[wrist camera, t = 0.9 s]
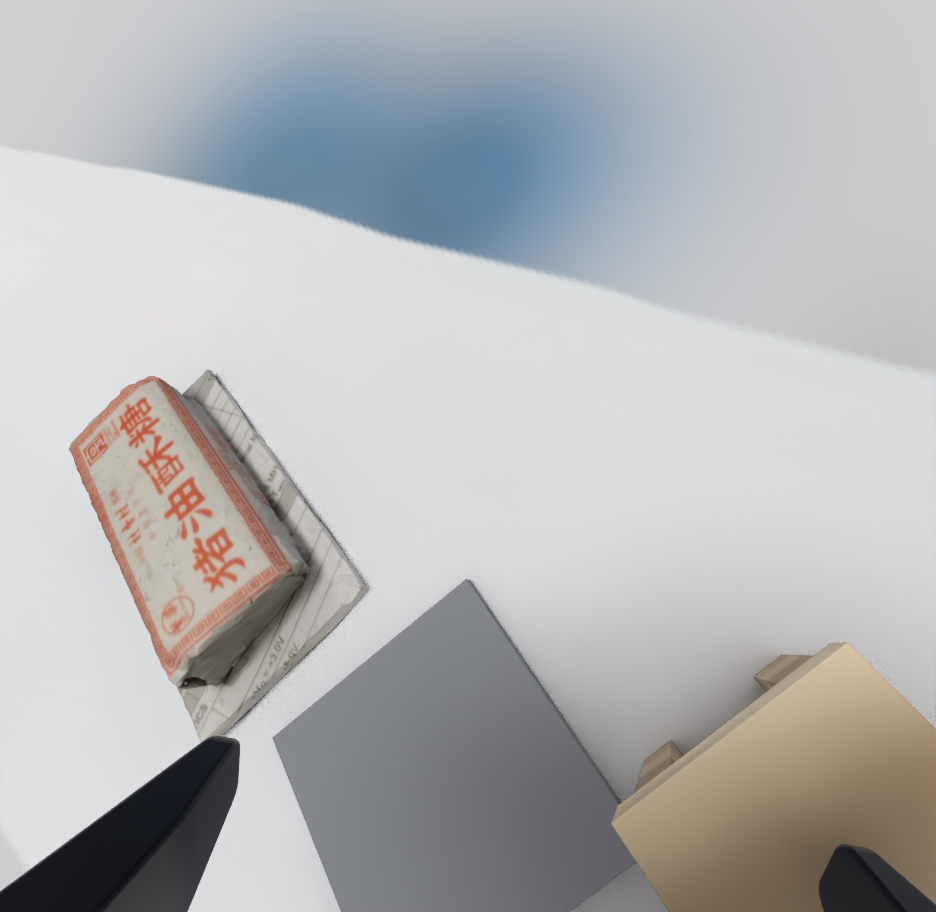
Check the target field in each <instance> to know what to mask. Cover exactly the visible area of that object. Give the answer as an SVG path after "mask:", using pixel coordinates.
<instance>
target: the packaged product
mask: <svg viewBox="0 0 936 912" xmlns="http://www.w3.org/2000/svg"><path fill="white" fill-rule="evenodd" d="M69 451H70V452H71V453H72V455H73V458H74V461H75V464H76V466H77V470H78V472H79V473H80V476H81V478H82V483H83V485H84V486H85V488H86V490H87V492H88V493H89V496H90V499H91V502H92V503H91V504H92V506H93V508H94V509H95V511H96V513H97V515H98V519H99V521H100V522H101V524H102V528H103V530H104V532H105V535H106V537H107V539H108V541H109V542H110V543H111V548H112V552H113V554H114V556H115V559H116V560H117V562H118V564H119V566H120V569H121V572H122V574H123V576H124V579H125V581H126V583H127V585H128V587H129V589H130V591H131V594H132V596H133V598H134V602H135V604H136V606H137V608H138V610H139V613H140V615H141V617H142V619H143V622H144V624H145V626H146V628H147V629H148V631H149V633H150V634H151V639H152V643H153V646H154V649H155V652H156V654H157V656H158V658H159V660H160V663H161V666H162V668H163V669H164V670H165V671H166V673H167V676H168V679H169V680H170V681H171V682H172V683H174V684H175V685H176V686H177V688H178V690H179V692H180V694H181V696H182V698H183V701H184V704H185V707H186V709H187V710H188V712H189V713H190V716H191V718H192V721H193V723H194V725H195V728H196V732H197V734H198V737H199V739H200V741H202V742H203V741H204V740H205V739H207V738H209V737H211V736H220V735H222V734H224V733H225V732H226V731H228V730H229V729H230V728H231V727H232V726H233V725H234V724H235V723H236V722H237V721H238V720H239V719H240V718H241V717H242V716H243V715H244V714H245V713H246V712H247V711H248V710H250V709H251V708H252V707H253V706H254V705H255V704H256V703H257V702H258V701H259V700H260V699H261V698H262V697H263V696H264V695H265V694H266V693H267V692H268V691H269V690H270V689H271V688H272V687H273V686H274V685H275V684H276V683H277V682H278V681H279V680H280V679H281V678H282V677H283V676H284V675H286V674H287V673H288V672H289V671H290V670H291V669H292V668H293V667H294V666H295V665H296V664H297V663H298V662H299V661H300V660H301V659H302V658H303V657H304V656H305V655H306V654H307V653H308V652H309V651H310V650H312V649H313V648H314V647H315V646H316V645H317V644H318V643H319V642H320V641H321V640H322V639H323V638H324V637H325V636H326V635H327V634H328V633H329V632H330V631H331V630H332V629H333V628H334V627H335V626H336V625H337V624H338V623H339V622H340V621H341V620H342V619H343V618H344V617H345V616H346V615H347V614H348V613H349V612H350V611H351V609H352V608H353V607H354V606H355V605H356V603H357V602H358V601H359V600H360V599H361V597H362V596H363V595H364V594H365V593H366V592H367V590H368V588H367V587H366V585H365V584H364V582H363V581H362V579H361V578H360V576H359V575H358V573H357V572H356V570H355V568H354V567H353V565H352V564H351V562H350V561H349V560H348V558H347V557H346V555H345V554H344V553H343V551H342V550H341V548H340V547H339V546H338V544H337V543H336V542H335V540H334V539H333V537H332V536H331V535H330V533H329V532H328V530H327V529H326V528H325V526H324V525H323V524H322V523H321V522H320V521H319V520H318V519H317V518H316V516H315V515H314V514H313V512H312V511H311V509H310V508H309V507H308V505H307V504H306V502H305V501H304V499H303V498H302V496H301V495H300V493H299V492H298V490H297V489H296V487H295V486H294V484H293V483H292V481H291V480H290V478H289V477H288V476H287V474H286V473H285V472H284V470H283V469H282V467H281V465H280V463H279V462H278V460H277V458H276V457H275V455H274V453H273V452H272V451H271V449H270V448H269V447H268V446H267V445H266V442H265V441H264V440H263V439H262V438H261V437H260V436H259V435H258V434H257V433H256V432H255V430H254V429H253V428H252V427H251V426H250V424H249V422H248V421H247V419H246V417H245V416H244V414H243V413H242V411H241V410H240V408H239V406H238V405H237V404H236V402H235V401H234V400H233V399H232V397H231V396H230V395H229V394H228V392H227V391H226V390H225V389H224V388H223V386H222V385H221V384H220V383H219V382H218V381H217V379H216V377H215V375H214V374H213V372H212V371H210V370H206V371H205V373H204V374H203V375H202V376H201V377H200V378H199V379H198V380H197V381H196V382H195V383H194V384H193V385H192V386H191V387H190V388H189V389H187V390H186V391H185V392H184V393H183V395H182V394H180V393H179V392H178V391H177V390H176V389H175V388H173V387H172V386H170V385H169V384H167V383H166V382H165V381H163V380H161V379H160V378H157V377H155V376H149V377H147V378H145V379H144V380H140V381H138V382H137V383H136V384H131V385H128V386H127V387H125V388H124V389H122V390H121V391H120V395H119V396H118V397H116V398H115V399H114V400H112V401H111V402H110V404H109V405H108V406H107V408H106V409H105V410H104V411H102V412H101V413H100V414H99V416H97V417H95V418H94V419H93V420H92V421H91V422H90V423H89V424H88V426H87V427H86V428H85V429H84V431H83V432H82V433H81V434H80V435H79V436H78V437H77V438H76V439H75V440H74V441H73V442H72V443H71V445H70V448H69Z"/></svg>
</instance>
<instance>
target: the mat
mask: <svg viewBox="0 0 936 912" xmlns="http://www.w3.org/2000/svg"><path fill="white" fill-rule="evenodd" d="M273 740H274V743H275V745H276V748H277V751H278V753H279V756H280V758H281V761H282V763H283V766H284V768H285V771H286V773H287V776H288V778H289V781H290V783H291V786H292V788H293V791H294V794H295V796H296V799H297V801H298V804H299V806H300V809H301V811H302V814H303V816H304V819H305V821H306V824H307V826H308V829H309V831H310V834H311V837H312V839H313V842H314V844H315V847H316V849H317V852H318V854H319V857H320V859H321V862H322V864H323V867H324V869H325V872H326V874H327V877H328V880H329V882H330V885H331V887H332V890H333V892H334V895H335V897H336V900H337V902H338V905H339V907H340V910H341V912H570V911H571V910H573V909H574V908H575V907H577V906H578V905H579V904H581V903H582V902H583V901H585V900H586V899H587V898H589V897H590V896H591V895H593V894H594V893H595V892H597V891H598V890H599V889H600V888H602V887H603V886H604V885H606V884H607V883H608V882H610V881H611V880H612V879H614V878H615V877H616V876H618V875H619V874H620V873H622V872H623V871H624V870H626V869H627V868H628V867H630V866H631V865H632V864H634V863H635V862H636V861H635V859H634V857H633V856H632V854H631V853H630V851H629V850H628V848H627V847H626V845H625V844H624V842H623V841H622V839H621V838H620V836H619V835H618V833H617V832H616V830H615V829H614V827H613V826H612V824H611V822H612V820H613V817H614V814H615V812H616V809H617V806H618V805H620V804H621V802H620V801H619V799H618V798H617V796H616V795H615V793H614V792H613V790H612V789H611V787H610V786H609V784H608V783H607V781H606V780H605V778H604V777H603V775H602V774H601V773H600V771H599V770H598V768H597V767H596V765H595V764H594V762H593V761H592V759H591V758H590V756H589V755H588V753H587V752H586V750H585V749H584V748H583V746H582V745H581V743H580V742H579V740H578V739H577V737H576V736H575V734H574V733H573V731H572V730H571V728H570V727H569V725H568V724H567V722H566V721H565V720H564V718H563V717H562V715H561V714H560V712H559V711H558V709H557V708H556V706H555V705H554V703H553V702H552V700H551V699H550V697H549V696H548V694H547V693H546V692H545V690H544V689H543V687H542V686H541V684H540V683H539V681H538V680H537V678H536V677H535V675H534V674H533V672H532V671H531V669H530V668H529V666H528V665H527V664H526V662H525V661H524V659H523V658H522V656H521V655H520V653H519V652H518V650H517V649H516V647H515V646H514V644H513V643H512V641H511V640H510V638H509V637H508V636H507V634H506V633H505V631H504V630H503V628H502V627H501V625H500V624H499V622H498V621H497V619H496V618H495V616H494V615H493V613H492V612H491V610H490V609H489V608H488V606H487V605H486V603H485V602H484V600H483V599H482V597H481V596H480V594H479V593H478V591H477V590H476V588H475V587H474V585H473V584H472V582H471V581H470V580H467V579H466V580H464V581H463V582H462V583H461V584H460V585H458V586H457V587H456V588H455V589H454V590H452V591H451V592H450V593H449V594H447V595H446V596H445V597H444V598H443V599H441V600H440V601H439V602H438V603H436V604H435V605H434V606H433V607H432V608H430V609H429V610H428V611H427V612H425V613H424V614H423V615H422V616H421V617H419V618H418V619H417V620H416V621H414V622H413V623H412V624H411V625H410V626H408V627H407V628H406V629H405V630H403V631H402V632H401V633H400V634H399V635H397V636H396V637H395V638H394V639H392V640H391V641H390V642H389V643H388V644H386V645H385V646H384V647H383V648H381V649H380V650H379V651H378V652H377V653H375V654H374V655H373V656H372V657H370V658H369V659H368V660H367V661H366V662H364V663H363V664H362V665H361V666H359V667H358V668H357V669H356V670H355V671H353V672H352V673H351V674H350V675H348V676H347V677H346V678H345V679H344V680H342V681H341V682H340V683H339V684H337V685H336V686H335V687H334V688H333V689H331V690H330V691H329V692H328V693H326V694H325V695H324V696H323V697H322V698H320V699H319V700H318V701H317V702H315V703H314V704H313V705H312V706H311V707H309V708H308V709H307V710H306V711H304V712H303V713H302V714H301V715H300V716H298V717H297V718H296V719H295V720H294V721H292V722H291V723H290V724H289V725H287V726H286V727H285V728H284V729H283V730H281V731H280V732H279V733H278V734H276V735H275V736H274V737H273Z"/></svg>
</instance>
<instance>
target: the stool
mask: <svg viewBox="0 0 936 912" xmlns="http://www.w3.org/2000/svg"><path fill="white" fill-rule="evenodd" d="M754 677H755V679H756V680H757V681H758V682H759V683H760V684H761V685H762V686H763V688H764V689H765V690H766V691H767V692H766V693H764V694H763V695H762V696H760V697H759V698H758V699H757V700H755V701H754V702H753V703H751V704H750V705H749V706H747V707H746V708H745V709H744V710H742V711H741V712H740V713H738V714H737V715H736V716H734V717H733V718H732V719H730V720H729V721H728V722H727V723H725V724H724V725H723V726H721V727H720V728H719V729H717V730H716V731H715V732H714V733H712V734H711V735H710V736H708V737H707V738H706V739H704V740H703V741H702V742H700V743H699V744H698V745H697V746H695V747H694V748H693V749H691V750H690V751H689V752H687V753H686V754H685V755H684V756H683V755H682V754H681V753H680V751H679V750H678V749H677V747H676V746H675V745H674V743H673V742H672V741H669V742H668V743H667V744H666V745H664V746H663V747H662V748H660V749H659V750H658V751H657V752H655V753H654V754H653V755H651V756H650V757H649V758H647V759H646V760H645V761H644V763H643V766H642V769H641V773H640V776H639V780H638V783H637V786H636V790H635V793H634V794H633V795H631V796H630V797H629V798H627V799H626V800H625V801H624V802H622V803H621V804H620V805H618V806H617V809H616V812H615V814H614V817H613V820H612V822H611V824H612V826H613V827H614V829H615V830H616V832H617V833H618V835H619V836H620V838H621V839H622V841H623V842H624V844H625V845H626V847H627V848H628V850H629V851H630V853H631V854H632V856H633V857H634V859H635V861H636V862H637V864H638V865H639V867H640V868H641V870H642V871H643V873H644V874H645V876H646V877H647V879H648V880H649V882H650V883H651V885H652V886H653V888H654V889H655V891H656V892H657V894H658V895H659V897H660V898H661V900H662V902H663V903H664V905H665V906H666V908H667V909H668V911H669V912H824V910H823V907H822V904H821V901H820V896H819V881H820V878H821V876H822V874H823V872H824V870H825V868H826V866H827V864H828V862H829V860H830V858H831V856H832V854H833V852H834V850H835V848H836V847H837V846H838V845H840V844H850V845H856V846H862V847H866V848H869V849H871V850H873V851H874V852H876V853H877V854H878V855H879V856H880V857H882V858H883V859H884V860H885V861H886V862H887V863H888V864H890V865H891V866H892V867H893V868H894V869H895V870H897V871H898V872H899V873H900V874H901V875H902V876H903V877H905V878H906V879H907V880H908V881H909V882H910V883H912V884H913V885H914V886H915V887H916V888H917V889H918V890H920V891H921V892H922V893H923V894H924V895H925V896H927V897H928V898H929V899H930V900H931V901H932V902H933V903H935V904H936V729H935V728H934V727H933V726H932V725H931V724H930V723H929V722H928V721H927V720H926V719H925V718H924V717H923V716H922V715H921V714H920V713H919V712H918V711H917V710H916V709H915V708H914V707H913V706H912V705H911V704H910V703H909V702H908V701H907V700H906V699H905V698H904V697H903V696H902V695H901V694H900V693H899V692H898V691H897V690H896V689H895V688H893V687H892V686H891V685H890V684H889V683H888V682H887V681H886V680H885V679H884V678H883V677H882V676H881V675H880V674H879V673H878V672H877V671H876V670H875V669H874V668H873V667H872V666H871V665H870V664H869V663H868V662H867V661H866V660H865V659H864V658H863V657H862V656H861V655H860V654H859V653H858V652H857V651H856V650H855V649H854V648H853V647H852V646H851V645H850V644H849V643H848V642H847V643H831V644H828V645H827V646H826V647H824V648H823V649H822V650H821V651H819V652H818V653H817V654H815V655H814V656H801V655H781V656H780V657H779V658H777V659H776V660H775V661H773V662H772V663H771V664H769V665H768V666H767V667H766V668H764V669H763V670H762V671H760V672H759V673H758V674H756V675H755V676H754Z"/></svg>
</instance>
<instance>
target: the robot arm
mask: <svg viewBox="0 0 936 912" xmlns="http://www.w3.org/2000/svg"><path fill="white" fill-rule="evenodd" d="M239 757H240V744H239V741H238V740H236V739H233V738H227V737H221V736H211V737H209V738H207V739H205V740H204V741H203V742H201V743H200V744H199V745H197V746H196V747H195V748H193V749H192V750H191V751H189V752H188V753H187V754H185V755H184V756H182V757H181V758H180V759H178V760H177V761H176V762H174V763H173V764H172V765H170V766H169V767H168V768H166V769H165V770H164V771H162V772H161V773H160V774H158V775H157V776H155V777H154V778H153V779H151V780H150V781H149V782H147V783H146V784H145V785H143V786H142V787H141V788H139V789H138V790H137V791H135V792H134V793H132V794H131V795H130V796H128V797H127V798H126V799H124V800H123V801H122V802H120V803H119V804H118V805H116V806H115V807H114V808H112V809H111V810H110V811H108V812H107V813H105V814H104V815H103V816H101V817H100V818H99V819H97V820H96V821H95V822H93V823H92V824H91V825H89V826H88V827H87V828H85V829H84V830H83V831H81V832H80V833H78V834H77V835H76V836H74V837H73V838H72V839H70V840H69V841H68V842H66V843H65V844H64V845H62V846H61V847H60V848H58V849H57V850H55V851H54V852H53V853H51V854H50V855H49V856H47V857H46V858H45V859H43V860H42V861H41V862H39V863H38V864H37V865H35V866H34V867H33V868H31V869H30V870H28V871H27V872H26V873H24V874H23V875H22V876H20V877H19V878H18V879H16V880H15V881H14V882H13V883H11V884H10V885H8V886H7V887H5V888H4V889H3V890H1V891H0V912H187V911H188V909H189V907H190V904H191V902H192V899H193V897H194V895H195V892H196V890H197V887H198V885H199V882H200V880H201V878H202V875H203V873H204V870H205V868H206V865H207V863H208V861H209V858H210V856H211V853H212V851H213V848H214V846H215V843H216V841H217V839H218V836H219V834H220V831H221V829H222V826H223V824H224V822H225V819H226V817H227V814H228V812H229V809H230V807H231V805H232V802H233V799H234V797H235V794H236V790H237V785H238V775H239ZM819 896H820V901H821V904H822V907H823V910H824V912H936V904H935V903H933V902H932V901H931V900H930V899H929V898H928V897H927V896H925V895H924V894H923V893H922V892H921V891H920V890H918V889H917V888H916V887H915V886H914V885H913V884H912V883H910V882H909V881H908V880H907V879H906V878H905V877H903V876H902V875H901V874H900V873H899V872H898V871H897V870H895V869H894V868H893V867H892V866H891V865H890V864H888V863H887V862H886V861H885V860H884V859H883V858H882V857H880V856H879V855H878V854H877V853H876V852H874V851H873V850H871V849H869V848H866V847H862V846H856V845H850V844H840V845H838V846H837V847H836V848H835V850H834V852H833V854H832V856H831V858H830V860H829V862H828V864H827V866H826V868H825V870H824V872H823V874H822V876H821V878H820V881H819Z"/></svg>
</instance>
